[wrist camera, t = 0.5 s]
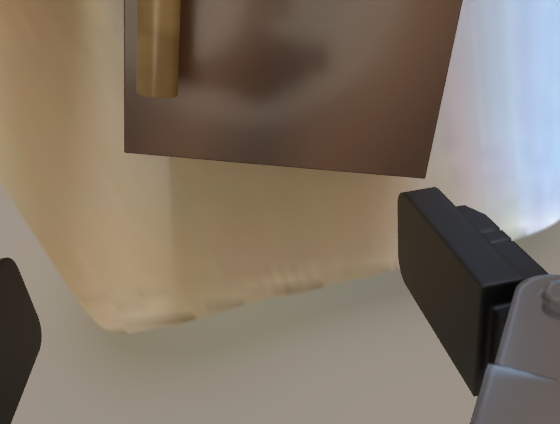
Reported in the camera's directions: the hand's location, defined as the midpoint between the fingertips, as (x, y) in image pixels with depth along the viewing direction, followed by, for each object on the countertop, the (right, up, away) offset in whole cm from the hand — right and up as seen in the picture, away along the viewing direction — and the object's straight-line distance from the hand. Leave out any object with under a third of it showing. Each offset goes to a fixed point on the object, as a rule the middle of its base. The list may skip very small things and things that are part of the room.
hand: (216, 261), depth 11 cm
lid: (+2, +10, +16) cm, 19 cm away
